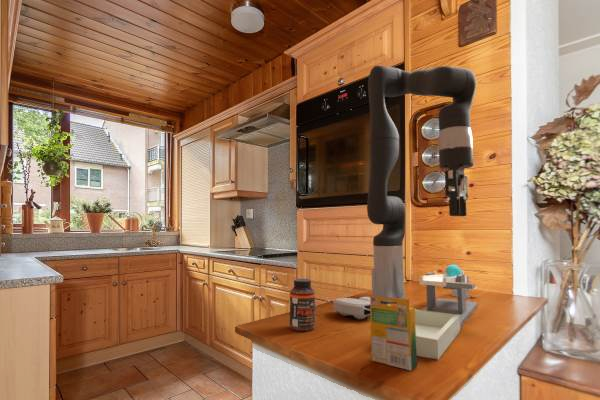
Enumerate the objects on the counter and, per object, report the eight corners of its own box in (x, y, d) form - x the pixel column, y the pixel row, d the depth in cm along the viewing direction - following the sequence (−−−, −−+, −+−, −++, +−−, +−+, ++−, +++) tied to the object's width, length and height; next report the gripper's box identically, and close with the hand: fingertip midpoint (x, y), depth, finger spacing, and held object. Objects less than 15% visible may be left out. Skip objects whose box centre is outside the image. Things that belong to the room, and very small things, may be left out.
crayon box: (417, 365, 59) (415, 296, 60) (411, 371, 57) (409, 299, 58) (378, 356, 64) (376, 292, 64) (371, 361, 61) (369, 294, 62)
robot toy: (359, 309, 103) (324, 314, 93) (359, 293, 103) (325, 297, 93) (395, 317, 94) (361, 324, 84) (396, 300, 94) (362, 305, 84)
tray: (374, 346, 68) (374, 328, 69) (407, 322, 85) (406, 308, 85) (438, 359, 61) (437, 339, 62) (460, 330, 78) (459, 315, 78)
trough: (419, 292, 84) (419, 269, 85) (444, 287, 105) (444, 269, 106) (472, 298, 78) (471, 273, 79) (488, 291, 99) (487, 271, 99)
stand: (410, 322, 85) (409, 279, 86) (437, 301, 107) (436, 267, 108) (458, 329, 79) (456, 282, 79) (477, 305, 101) (475, 269, 101)
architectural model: (456, 295, 117) (455, 273, 118) (477, 298, 112) (476, 275, 113) (451, 297, 115) (450, 274, 115) (473, 300, 110) (472, 276, 110)
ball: (444, 277, 101) (444, 263, 102) (447, 278, 104) (447, 265, 105) (459, 278, 99) (459, 264, 100) (461, 279, 102) (462, 266, 103)
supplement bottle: (297, 333, 77) (296, 282, 78) (285, 327, 82) (285, 279, 83) (320, 329, 80) (319, 280, 81) (307, 323, 85) (307, 277, 86)
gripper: (445, 155, 92) (448, 216, 91) (431, 145, 80) (434, 216, 79) (477, 151, 87) (480, 216, 86) (467, 140, 76) (470, 215, 75)
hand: (458, 216), depth 83 cm, fingers open, 7 cm apart
